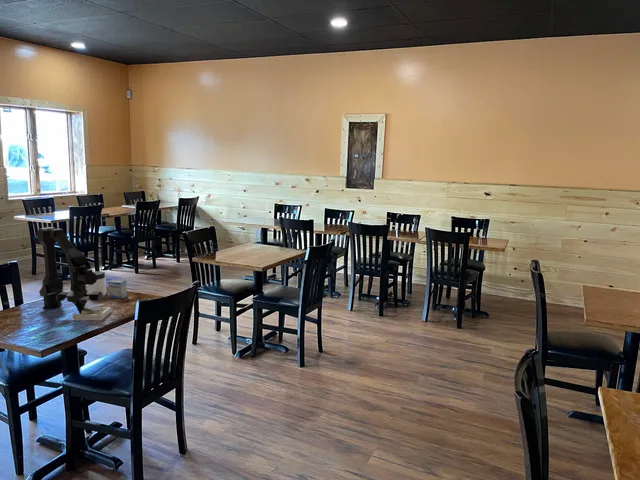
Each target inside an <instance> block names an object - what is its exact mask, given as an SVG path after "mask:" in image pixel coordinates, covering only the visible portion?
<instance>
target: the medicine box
mask: <svg viewBox="0 0 640 480" xmlns="http://www.w3.org/2000/svg"><path fill="white" fill-rule="evenodd" d="M107 285H108V286H107V287H108V298H111V299H124V298H126V297H127V296H128V293H127V291H128V290H127V281H126V280H117V279H112V280H109V281H108V284H107Z"/></svg>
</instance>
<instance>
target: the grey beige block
mask: <svg viewBox="0 0 640 480" xmlns="http://www.w3.org/2000/svg"><path fill="white" fill-rule="evenodd" d="M85 307H86V306H85ZM103 307H104V306H102V307H101V306H87V307H86V308H84V309H83V310H82V311H81V314H101V313H102V312H103Z"/></svg>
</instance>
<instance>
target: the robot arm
mask: <svg viewBox="0 0 640 480" xmlns="http://www.w3.org/2000/svg"><path fill="white" fill-rule="evenodd" d="M36 237H37V240H38V242H39V243H40V244H41V246H42V251H43V259H44V260H43V261H44V268H45V269H44V270H45V276H44V278H43V280H42V287H40V290H39V292H38V293H39V296H40V297H43V304H44V305H43V307H42V309H58V308H59V307H60V306H61V305H63V303H62V302H63V301H65V300H66V299H67V302H70V303H72V304H74V306H75V308H76V309H77V311H78V314H81V311H82V310H83V309H84V308H85V307H86V306H87V303H88V301H89V300H90V301H92V302H93V301H99V300H100V299H102V298H104V296H103V294H102V292H92V293H91V294H89V290H87V285H93V284H95V283H96V281H97V275H96V274H95V273H93V272H94V270H93V269H92V267H91V266H92V265H91V263H90V261H89V259H88V258H87V256H86V255H85V254H84V253H83V252H82V251H80V250H78V249H77V248H75V246H74V245H73V243H72V242H71V240H70V239H69V238H68V236H67V235H66V234H65V230H64V229H62V228H55V227H54V226H49V227H42V228H41V227H40V228H38V230H37V231H36ZM56 244H57V245H58V246H59V248H60V249H61V251H62V252H63V254H64V255H65V262H66V265H67V266H68V267H69V269H68V272H70V275H71V276H70V277H71V278H70V279H71V285H70V290H69V291H64V283H63V278H62V277H60V276H59V275H58V267H57V258H56V257H57V256H56Z"/></svg>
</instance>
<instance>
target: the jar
mask: <svg viewBox="0 0 640 480" xmlns="http://www.w3.org/2000/svg"><path fill="white" fill-rule="evenodd" d="M93 273H95V274H96V275H97V281H96V283H95V284H93V285H88V284H87V285H88V286H87V287H88V294H91V293H92V292H102V294H103V297H104V296H105V295H106V294H107V281H106V278H107V277H106V273H105V271H101V270H100V271H93Z"/></svg>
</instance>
